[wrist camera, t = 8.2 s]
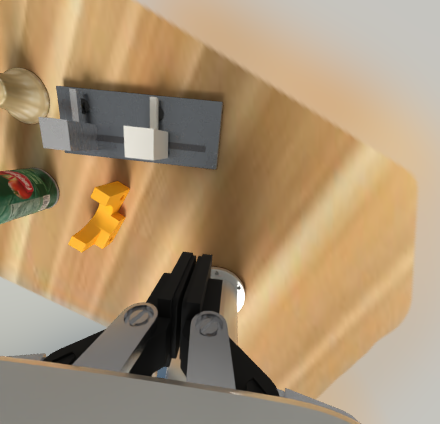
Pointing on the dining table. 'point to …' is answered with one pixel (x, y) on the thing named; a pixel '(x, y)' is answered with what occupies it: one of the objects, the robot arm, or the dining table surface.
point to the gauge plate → (133, 125)
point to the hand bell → (23, 95)
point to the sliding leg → (146, 138)
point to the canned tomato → (26, 193)
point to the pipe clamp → (102, 217)
